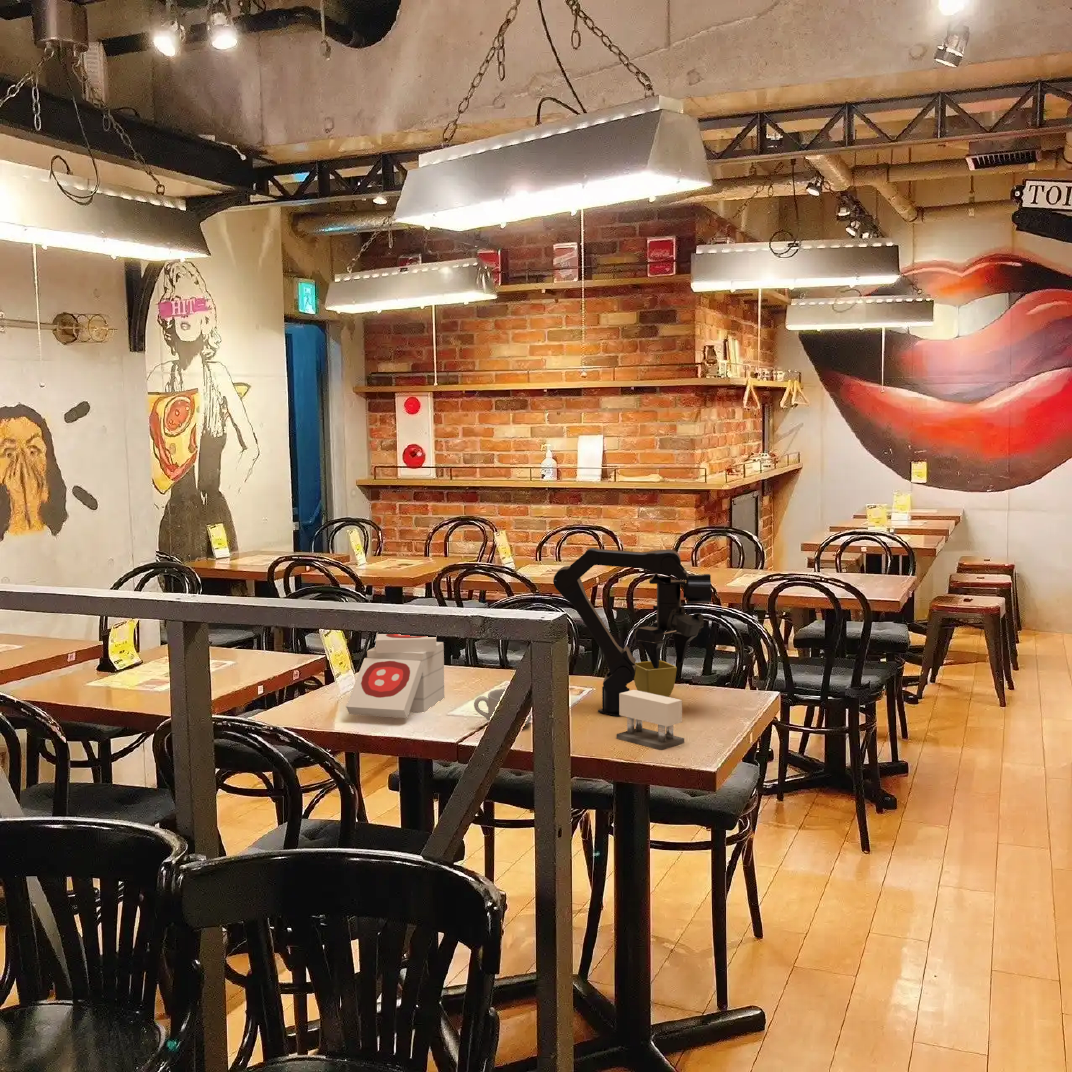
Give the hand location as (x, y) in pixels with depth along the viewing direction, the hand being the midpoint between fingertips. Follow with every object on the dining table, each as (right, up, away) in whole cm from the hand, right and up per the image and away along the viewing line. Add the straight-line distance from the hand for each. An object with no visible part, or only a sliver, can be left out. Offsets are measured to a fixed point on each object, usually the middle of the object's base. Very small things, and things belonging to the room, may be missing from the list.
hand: (668, 665), depth 274 cm
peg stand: (-7, -14, -22) cm, 27 cm away
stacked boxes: (-66, -12, +8) cm, 68 cm away
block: (-7, -9, -22) cm, 25 cm away
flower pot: (-2, -11, +16) cm, 19 cm away
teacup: (-40, -14, -9) cm, 43 cm away
